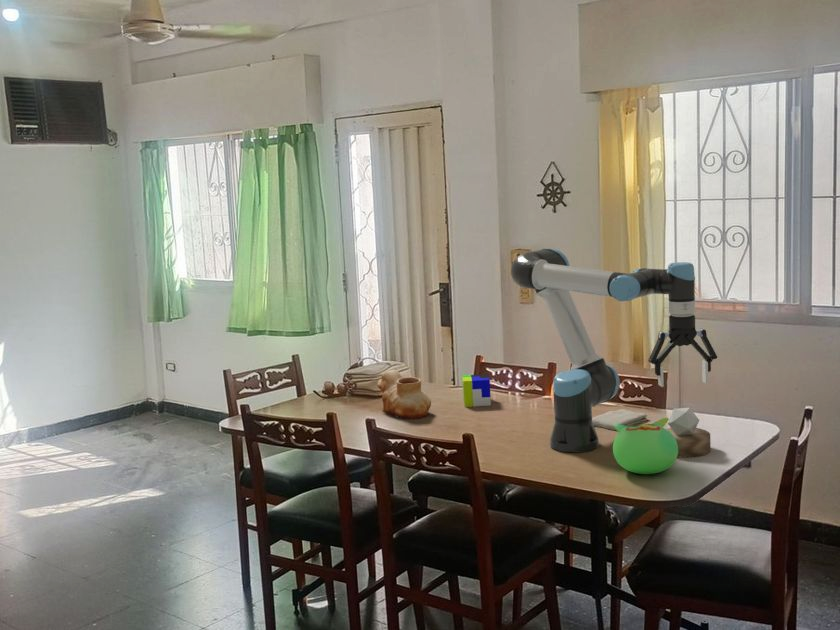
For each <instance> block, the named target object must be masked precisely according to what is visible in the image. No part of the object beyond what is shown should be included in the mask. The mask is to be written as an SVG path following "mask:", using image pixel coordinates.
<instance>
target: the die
mask: <svg viewBox="0 0 840 630" xmlns="http://www.w3.org/2000/svg"><path fill="white" fill-rule="evenodd" d="M699 422H700V419H699V418H698V416H697V415H696V414H695V413H694V411H693V410H692V409H691V407H681V408H673V409H672V411H671V413H670V416H669V420H668V422H667V424H668V426H669V428H671V429H672V430H673V431H674V433H675V434H676V435H677V436H682V435H694V432H695V430H696V428H697V427H698V424H699Z"/></svg>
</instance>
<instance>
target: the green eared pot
mask: <svg viewBox="0 0 840 630" xmlns="http://www.w3.org/2000/svg"><path fill="white" fill-rule="evenodd" d="M669 419H670V417H664V418H661V419H659V420H657V421H655V422H653V423H640V424H639V423H637V424H634V425H631V426H628V427H627V426H624V425H621V424H614V425H613V426H614V428H615V429H616V430H615V431H617V432H618V434H617V435H616V436H615V437H614V438H615V439H613V445H612V454H613V457H614V459H615V461H616V462H617V464H618V465H620V467H622V468H623V469H625V470H626V471H629V472H630V473H634V474H639V475H653V474H658V473H661V472H664V471H666V470H668V469H669V468H671V467H672V466H673V465H674V464H675V462H676V461H677V458H678V457H677V455H678V445H677V441H676V439H675V437H674V436H673V435H672V434H671V433H670V432H669V431H668V430H666V429H667V428H664V426H665V425H666V424H668V421H669Z"/></svg>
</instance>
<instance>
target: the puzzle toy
mask: <svg viewBox="0 0 840 630" xmlns="http://www.w3.org/2000/svg"><path fill="white" fill-rule="evenodd" d="M461 378H462V379H461V380H462V391H463V392H462V393H463V394H462V395H463V396H462V397H463V405H464V408H468V407H472V406H473V407H485V406H488V407H489V406H492V398H491V397H492V396H491V381H490V380H491V379H490V377H489V373H484V374H469V375H468V374H465V375H461Z"/></svg>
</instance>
